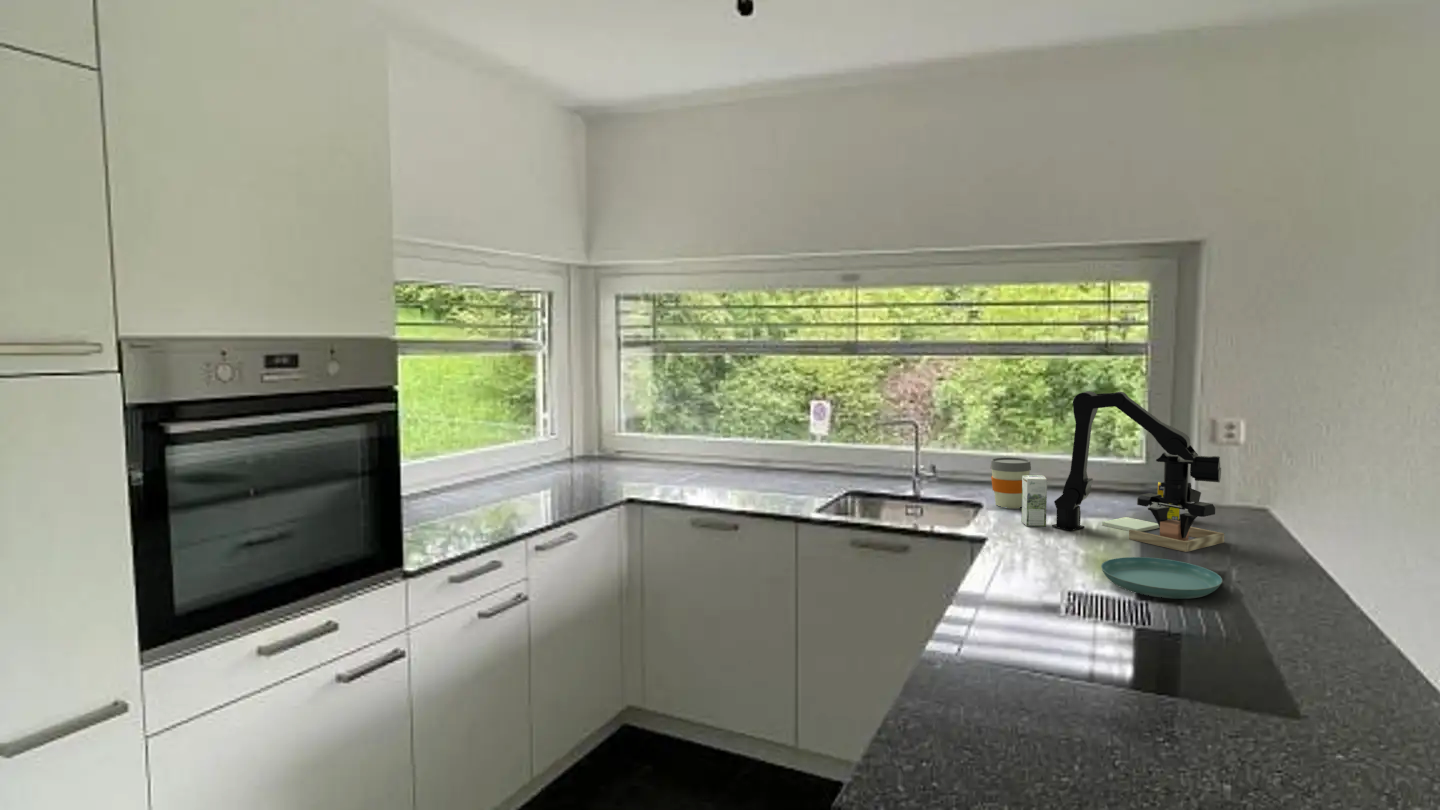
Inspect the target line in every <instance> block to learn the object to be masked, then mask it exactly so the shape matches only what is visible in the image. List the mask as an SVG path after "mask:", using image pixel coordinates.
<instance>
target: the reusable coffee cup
mask: <svg viewBox="0 0 1440 810" xmlns="http://www.w3.org/2000/svg"><path fill="white" fill-rule="evenodd" d="M1031 465H1032V464H1031V460H1030V459H1027V458H1021V457H1010V456H1009V457H995V458H991V460H990V469H991V474H992V475H991V479H990V480H991V487H992V492H993V493H994V499H995V500H994V501H995V506H996V505H998V506H1001V507H1000V508H1002V507H1007V508H1006V509H1021V508H1020V507H1022V476H1023V475H1030V472H1031V470H1032V466H1031ZM998 506H997V507H998Z"/></svg>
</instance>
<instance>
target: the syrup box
mask: <svg viewBox="0 0 1440 810" xmlns="http://www.w3.org/2000/svg"><path fill="white" fill-rule="evenodd" d="M1047 497H1048V479H1047V478H1046V476H1044V475H1041V474H1040V475H1039V474H1038V475H1037V474H1035V475H1033V474H1032V475H1030V474H1029V475H1023V476H1022V508H1021V523H1022V522H1023V523H1024V524H1025V527H1046V526H1047V501H1048V500H1047V499H1048V498H1047ZM1023 523H1022V524H1023Z"/></svg>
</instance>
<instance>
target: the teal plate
mask: <svg viewBox="0 0 1440 810" xmlns="http://www.w3.org/2000/svg"><path fill="white" fill-rule="evenodd" d="M1100 567H1101V570H1102V572H1103V574H1104V575H1105V577H1106V578H1107V579H1108V580H1109V581H1111V582H1112V583H1113V585H1115V586H1117V587H1119V588H1121V589H1123V590H1125V589H1126V590H1125V591H1128V590H1129V592H1131V591H1132V592H1131V593H1134V592H1136V593H1135V594H1138V593H1140V594H1139V595H1143V594H1144V596H1148V595H1149V597H1155V598H1161V597H1162V599H1175V600H1178V599H1179V600H1180V599H1181V600H1184V599H1186V600H1187V599H1196V598H1202V597H1206V596H1209V595H1210V594H1212V593H1214V592H1215V591H1216V590H1218V588H1220V586H1221V585H1222V583H1223V578H1222V577H1221V575H1219V573H1217V572H1215V571H1213V570H1211V569H1209V568H1206V567H1203V566H1201V565H1197V564H1194V563H1193V564H1192V563H1188V562H1185V561H1180V560H1174V559H1165V558H1159V557H1145V556H1142V557H1141V556H1137V557H1136V556H1131V557H1130V556H1129V557H1116V558H1112V559H1108V560H1105V561H1103V562H1102V563H1101V565H1100Z"/></svg>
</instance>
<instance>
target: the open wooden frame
mask: <svg viewBox="0 0 1440 810" xmlns="http://www.w3.org/2000/svg"><path fill="white" fill-rule="evenodd" d="M1189 537H1191V538H1193V539H1189V540H1187V541H1182V540H1177V539H1173V538H1168V537H1163V536H1160V534H1159V535H1158V534H1153V533H1148V532H1146V531H1143V532H1140V531H1136V530H1129V531H1128V540H1130V541H1131V540H1132V541H1136V542H1140V543H1144V544H1145V543H1146V544H1149V545H1153V546H1158V547H1163V548H1166V549H1170V550H1174V551H1175V550H1176V551H1180V552H1185V553H1187V552H1191V551H1195V550H1196V551H1197V550H1199V549H1204V548H1206V547H1207V548H1208V547H1211V546H1215V545H1220V544H1224V543H1225V533H1224V532H1218V531H1214V530H1210V529H1209V530H1208V529H1204V528H1199V527H1194V526H1191V527H1190V529H1189Z"/></svg>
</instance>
